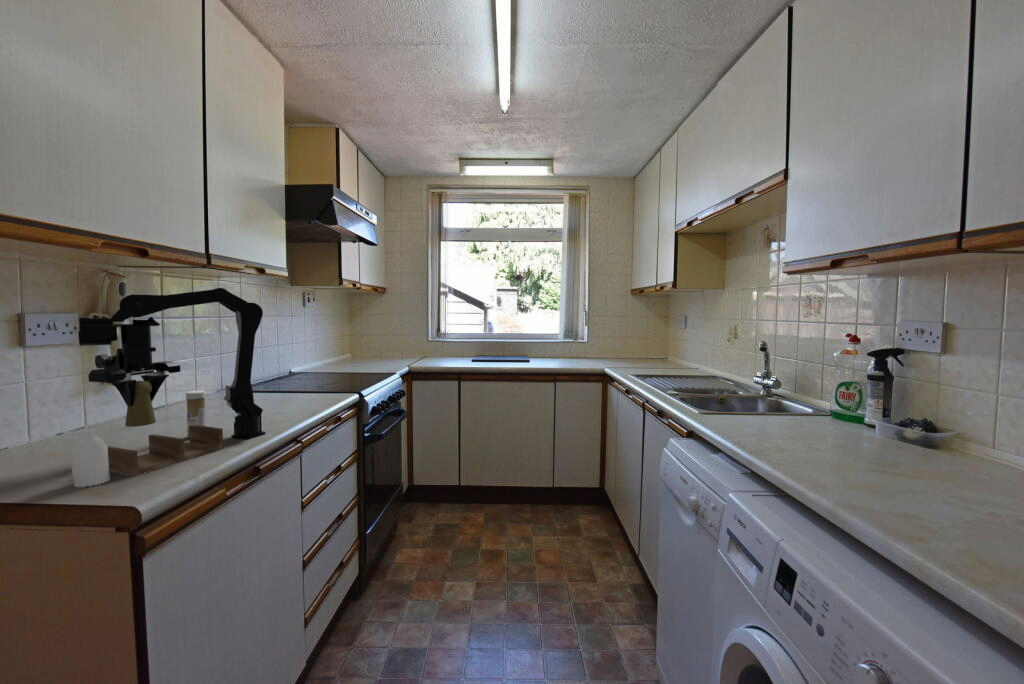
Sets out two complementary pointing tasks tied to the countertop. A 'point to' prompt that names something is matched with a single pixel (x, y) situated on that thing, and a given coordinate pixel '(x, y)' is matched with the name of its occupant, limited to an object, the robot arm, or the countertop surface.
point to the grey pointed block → (89, 460)
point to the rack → (165, 451)
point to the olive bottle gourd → (141, 406)
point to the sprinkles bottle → (195, 409)
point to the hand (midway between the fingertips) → (139, 404)
